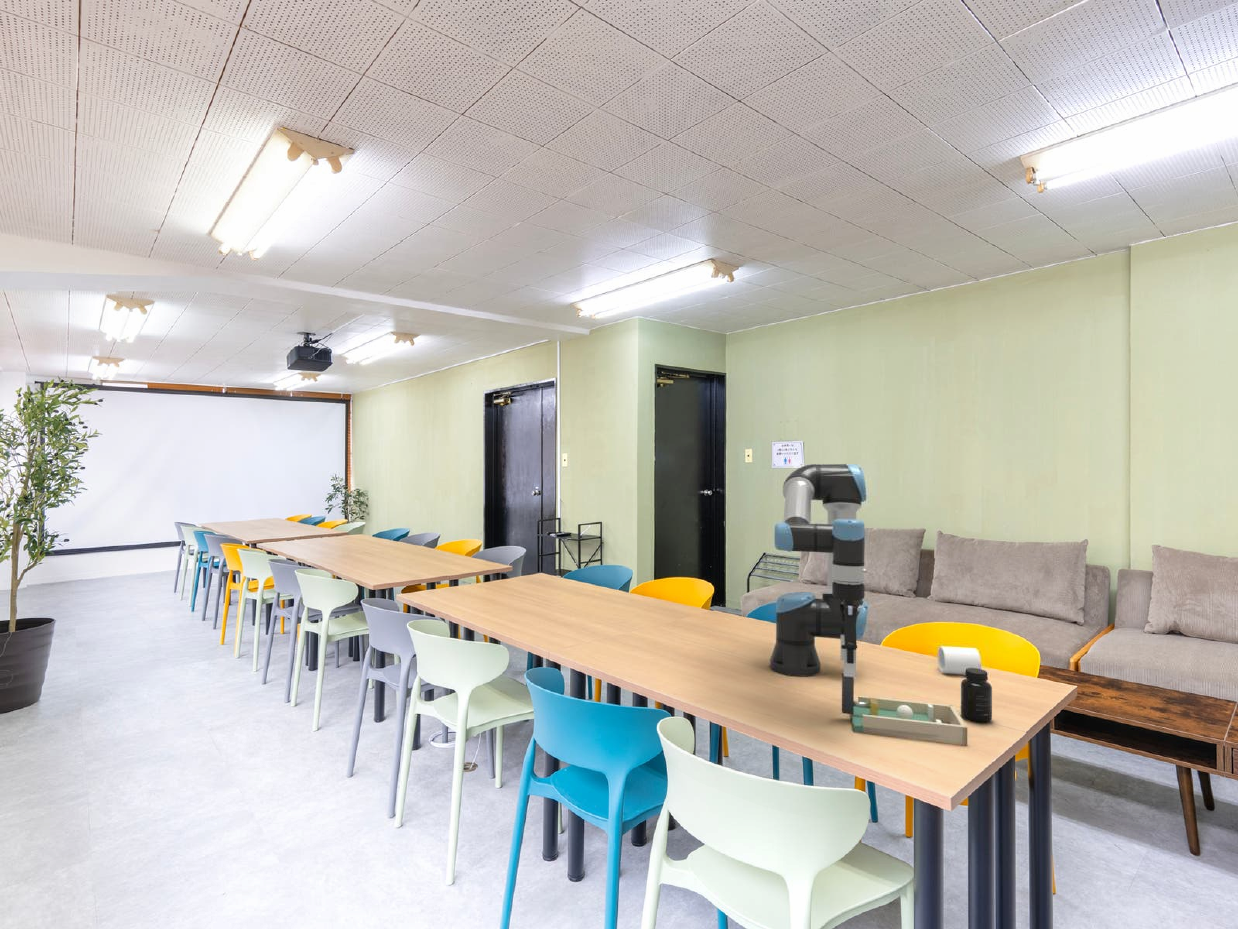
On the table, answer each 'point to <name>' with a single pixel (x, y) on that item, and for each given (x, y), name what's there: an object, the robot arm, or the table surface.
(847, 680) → the uneven dumbbell
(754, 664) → the table surface
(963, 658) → the mug
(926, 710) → the pitch
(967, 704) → the supplement bottle
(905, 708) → the ball
